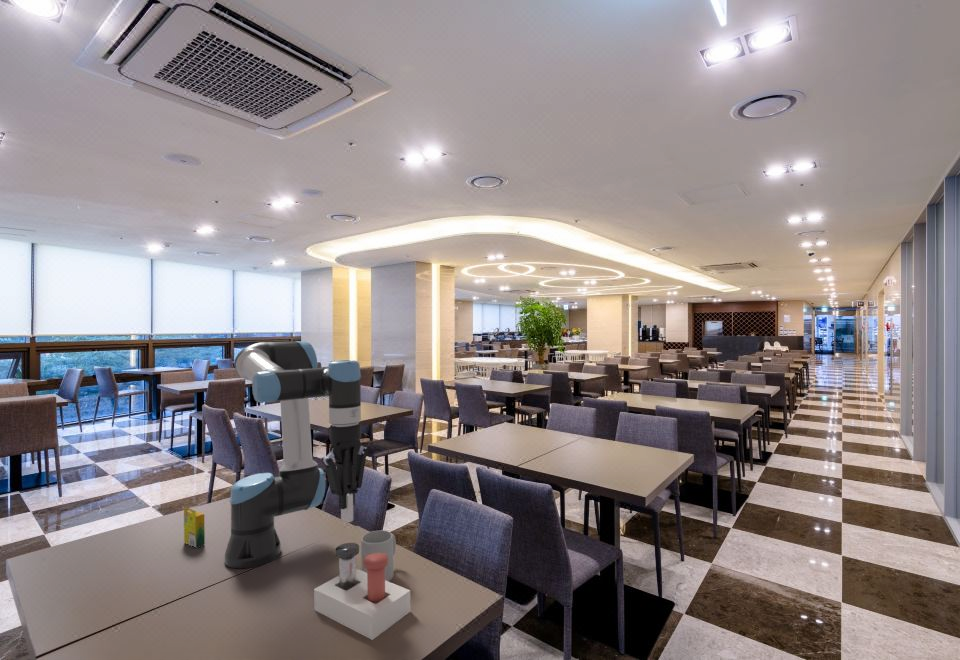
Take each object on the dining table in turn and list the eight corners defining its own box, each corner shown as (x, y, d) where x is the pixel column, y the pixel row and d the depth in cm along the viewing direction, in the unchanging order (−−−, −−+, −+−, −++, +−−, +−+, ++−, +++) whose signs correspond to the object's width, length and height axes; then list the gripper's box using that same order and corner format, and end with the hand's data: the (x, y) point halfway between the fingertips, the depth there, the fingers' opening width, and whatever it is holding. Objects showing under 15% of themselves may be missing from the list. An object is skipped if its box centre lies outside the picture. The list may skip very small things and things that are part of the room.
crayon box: (205, 545, 146) (204, 508, 146) (195, 548, 143) (194, 511, 143) (193, 539, 150) (193, 504, 150) (183, 543, 147) (183, 506, 147)
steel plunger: (331, 587, 111) (330, 549, 111) (349, 577, 116) (348, 540, 116) (346, 594, 108) (345, 555, 108) (364, 583, 113) (363, 546, 113)
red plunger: (358, 600, 106) (358, 560, 106) (377, 589, 110) (376, 550, 110) (375, 608, 103) (375, 567, 103) (393, 596, 107) (393, 556, 107)
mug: (380, 588, 119) (380, 546, 119) (354, 581, 122) (354, 540, 122) (407, 567, 129) (406, 528, 129) (382, 561, 133) (382, 523, 133)
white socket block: (314, 610, 110) (314, 589, 110) (353, 586, 120) (353, 567, 120) (372, 640, 99) (371, 616, 99) (410, 611, 109) (410, 590, 109)
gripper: (333, 430, 105) (335, 533, 104) (376, 420, 116) (377, 514, 115) (313, 427, 109) (314, 526, 109) (356, 418, 120) (357, 508, 119)
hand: (347, 520), depth 112 cm, fingers closed
